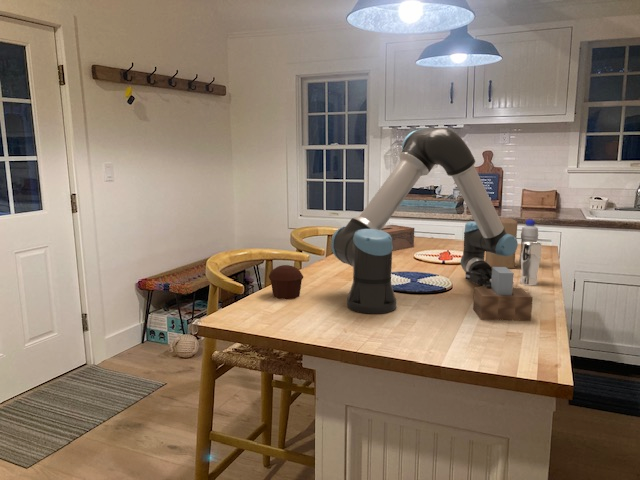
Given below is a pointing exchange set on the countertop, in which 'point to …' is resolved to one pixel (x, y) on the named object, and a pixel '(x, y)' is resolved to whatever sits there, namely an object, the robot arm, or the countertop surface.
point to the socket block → (502, 304)
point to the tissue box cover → (400, 236)
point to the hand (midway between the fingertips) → (497, 288)
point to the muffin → (286, 282)
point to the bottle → (529, 233)
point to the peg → (502, 281)
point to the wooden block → (504, 261)
